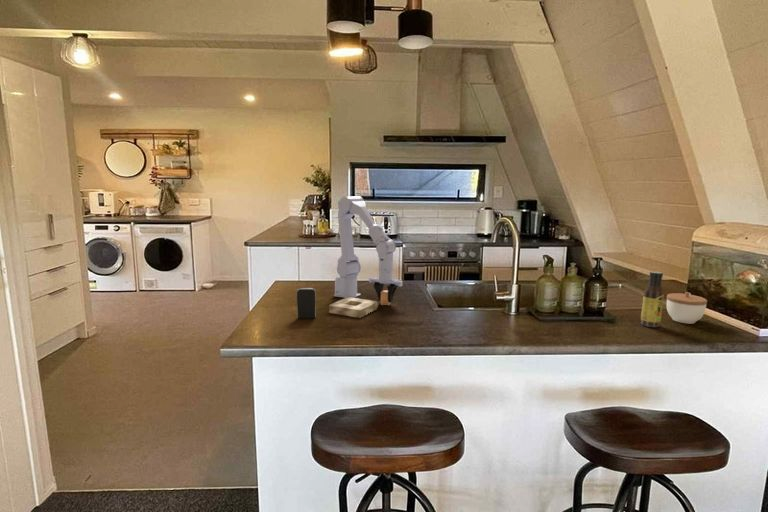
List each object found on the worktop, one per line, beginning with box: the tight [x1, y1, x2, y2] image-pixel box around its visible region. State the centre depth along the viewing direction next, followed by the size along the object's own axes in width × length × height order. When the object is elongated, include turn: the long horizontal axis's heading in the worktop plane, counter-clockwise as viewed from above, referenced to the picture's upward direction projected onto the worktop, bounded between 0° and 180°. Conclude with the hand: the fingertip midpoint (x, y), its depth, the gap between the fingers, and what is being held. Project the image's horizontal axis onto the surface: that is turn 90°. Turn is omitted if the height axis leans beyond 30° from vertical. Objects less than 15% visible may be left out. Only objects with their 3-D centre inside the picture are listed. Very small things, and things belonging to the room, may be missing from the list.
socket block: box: [328, 297, 379, 319], centre depth 176 cm, size 14×14×3 cm
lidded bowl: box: [666, 291, 708, 325], centre depth 168 cm, size 13×13×11 cm
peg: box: [380, 289, 391, 306], centre depth 185 cm, size 4×4×6 cm
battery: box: [296, 287, 317, 320], centre depth 166 cm, size 7×4×11 cm, turn 95°
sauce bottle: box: [640, 270, 665, 328], centre depth 161 cm, size 6×6×20 cm
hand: (385, 301), depth 185 cm, fingers closed on peg, 4 cm apart
